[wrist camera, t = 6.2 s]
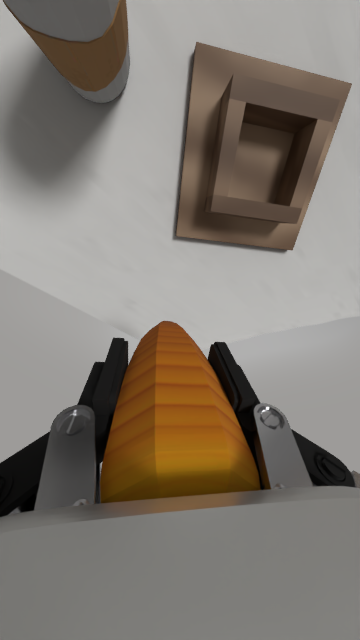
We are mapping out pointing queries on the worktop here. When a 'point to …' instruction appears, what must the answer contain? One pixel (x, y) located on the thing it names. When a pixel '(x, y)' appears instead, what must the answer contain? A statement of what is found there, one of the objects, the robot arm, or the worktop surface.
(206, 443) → the carrot
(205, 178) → the walnut stand
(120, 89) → the coffee cup
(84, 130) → the worktop surface
